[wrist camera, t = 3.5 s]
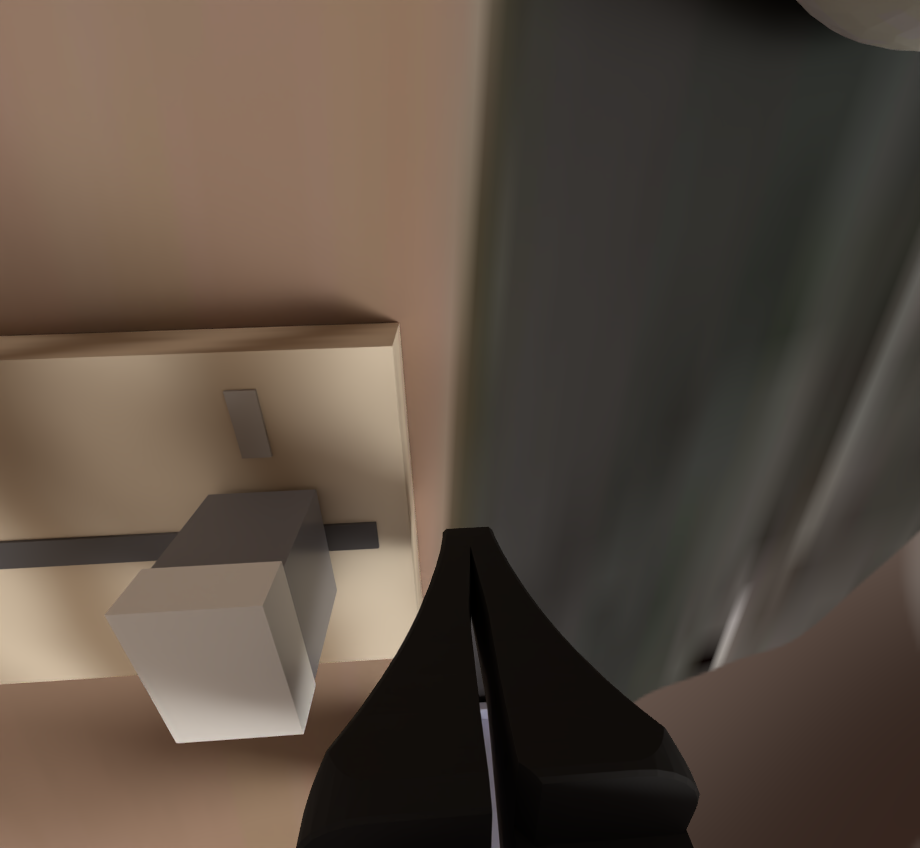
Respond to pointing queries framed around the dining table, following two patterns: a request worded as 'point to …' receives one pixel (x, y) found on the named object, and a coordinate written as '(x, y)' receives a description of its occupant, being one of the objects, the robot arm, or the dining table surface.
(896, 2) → the teacup
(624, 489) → the dining table surface
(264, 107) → the dining table surface
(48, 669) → the console
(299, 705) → the fader
